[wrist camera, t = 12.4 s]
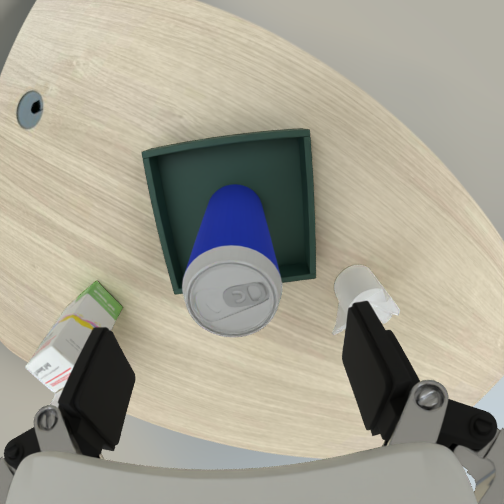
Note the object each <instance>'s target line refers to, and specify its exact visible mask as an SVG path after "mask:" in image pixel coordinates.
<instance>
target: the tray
mask: <svg viewBox="0 0 504 504" xmlns="http://www.w3.org/2000/svg"><path fill="white" fill-rule="evenodd" d="M142 158H143V163H144V169H145V174H146V179H147V184H148V189H149V194H150V199H151V203H152V208H153V212H154V217H155V221H156V226H157V230H158V234H159V238H160V242H161V246H162V250H163V254H164V258H165V262H166V265H167V269H168V273H169V276H170V280H171V284H172V287H173V291H174V294H183V291H182V283H183V277H184V274H185V271H186V268H187V265H188V262H189V259H190V255H191V252H192V249H193V246H194V243H195V240H196V237H197V234H198V232H199V229H200V226H201V223H202V220H203V217H204V214H205V211H206V209H207V206H208V203H209V200H210V198H211V197H212V195H213V194H214V193H215V192H216V191H217V190H219V189H220V188H222V187H224V186H227V185H233V184H237V185H243V186H246V187H248V188H250V189H251V190H253V191H254V192H255V193H256V194H257V195H258V197H259V198H260V201H261V203H262V207H263V210H264V214H265V218H266V222H267V225H268V229H269V233H270V237H271V241H272V245H273V249H274V252H275V256H276V260H277V264H278V268H279V272H280V276H281V281H282V283H284V282H292V281H300V280H307V279H315V278H316V239H315V206H314V184H313V167H312V152H311V138H310V130H309V129H303V128H300V129H285V130H272V131H261V132H251V133H243V134H234V135H227V136H219V137H212V138H206V139H199V140H193V141H187V142H182V143H176V144H171V145H166V146H161V147H156V148H151V149H149V150H146V151H143V152H142Z"/></svg>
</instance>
